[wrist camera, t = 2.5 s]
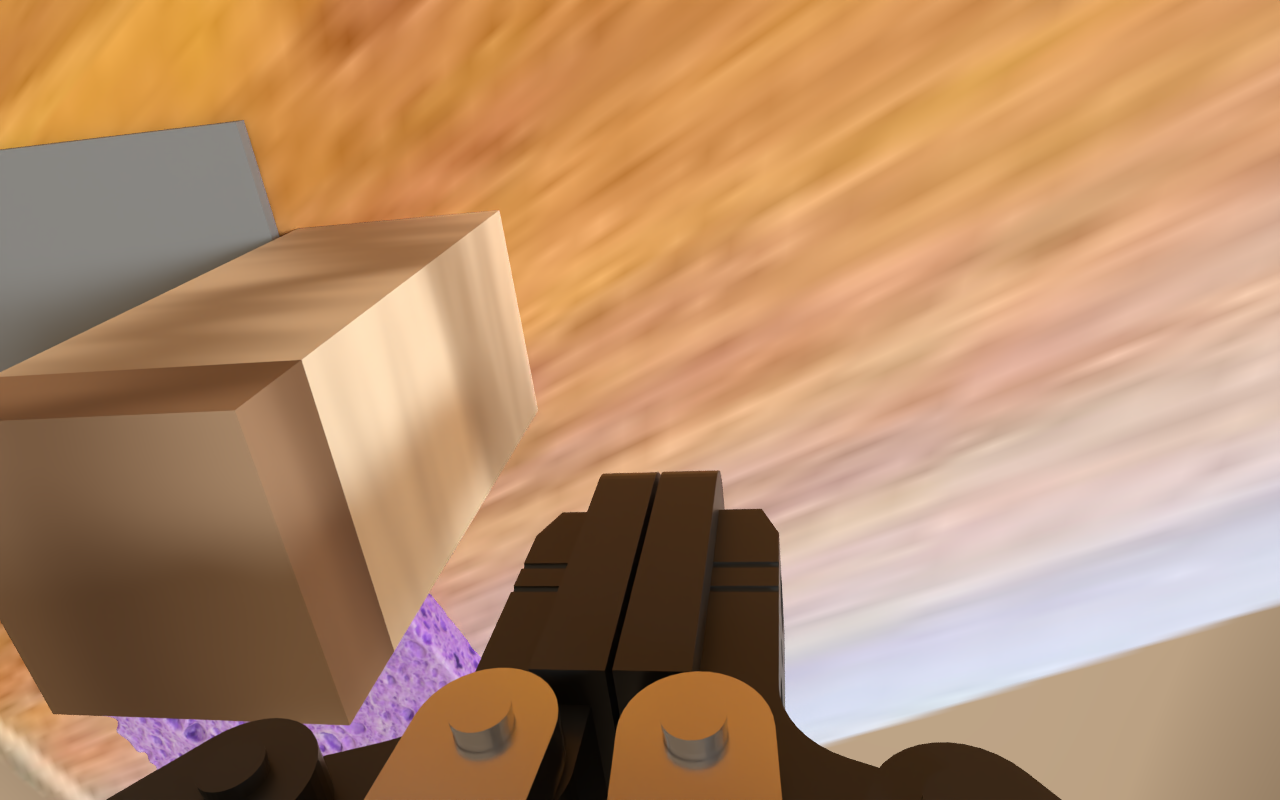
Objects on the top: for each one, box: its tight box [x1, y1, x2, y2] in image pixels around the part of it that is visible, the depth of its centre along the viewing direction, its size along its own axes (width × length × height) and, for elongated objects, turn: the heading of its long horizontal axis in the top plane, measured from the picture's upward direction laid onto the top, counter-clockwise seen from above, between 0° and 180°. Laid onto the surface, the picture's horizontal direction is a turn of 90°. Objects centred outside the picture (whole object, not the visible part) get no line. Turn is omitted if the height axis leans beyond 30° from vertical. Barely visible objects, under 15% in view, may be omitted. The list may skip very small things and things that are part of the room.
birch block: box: [0, 210, 538, 725], centre depth 16 cm, size 5×5×10 cm
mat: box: [0, 120, 280, 372], centre depth 21 cm, size 10×10×1 cm
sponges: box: [109, 594, 481, 770], centre depth 26 cm, size 7×13×2 cm, turn 118°
